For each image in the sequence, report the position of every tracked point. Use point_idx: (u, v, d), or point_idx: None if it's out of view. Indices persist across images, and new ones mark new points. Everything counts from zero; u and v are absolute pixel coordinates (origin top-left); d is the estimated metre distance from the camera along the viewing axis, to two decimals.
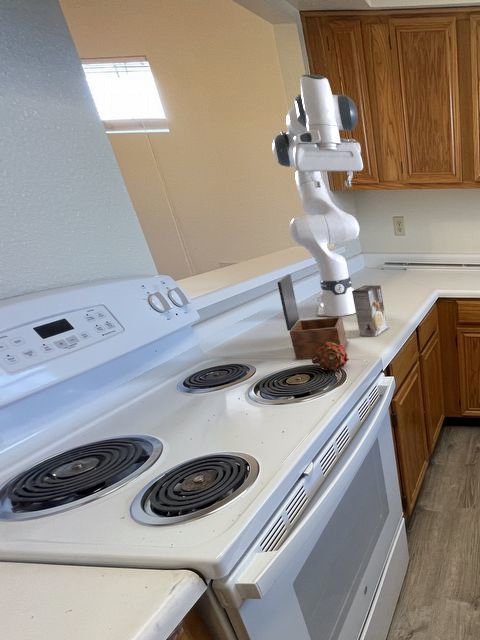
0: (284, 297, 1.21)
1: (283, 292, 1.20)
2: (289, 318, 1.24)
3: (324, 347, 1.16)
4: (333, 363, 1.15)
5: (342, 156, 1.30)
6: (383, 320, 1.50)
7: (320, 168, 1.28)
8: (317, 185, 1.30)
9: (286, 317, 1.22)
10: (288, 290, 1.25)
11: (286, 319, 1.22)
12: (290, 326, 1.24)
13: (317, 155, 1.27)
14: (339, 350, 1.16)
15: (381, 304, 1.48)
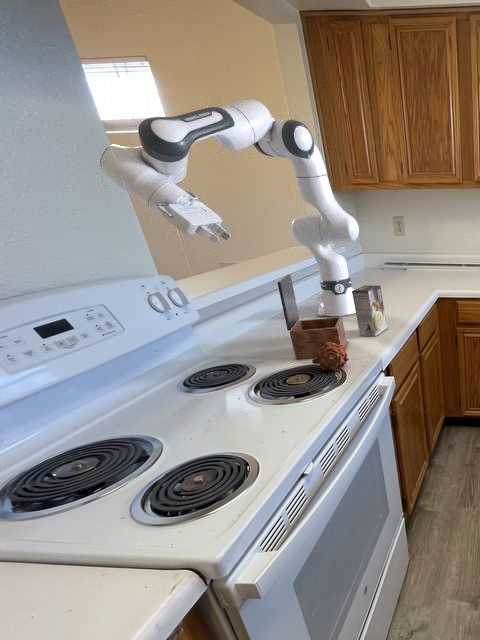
0: (284, 297, 1.21)
1: (283, 292, 1.20)
2: (289, 318, 1.24)
3: (324, 347, 1.16)
4: (333, 363, 1.15)
5: None
6: (383, 320, 1.50)
7: None
8: None
9: (286, 317, 1.22)
10: (288, 290, 1.25)
11: (286, 319, 1.22)
12: (290, 326, 1.24)
13: None
14: (339, 350, 1.16)
15: (381, 304, 1.48)
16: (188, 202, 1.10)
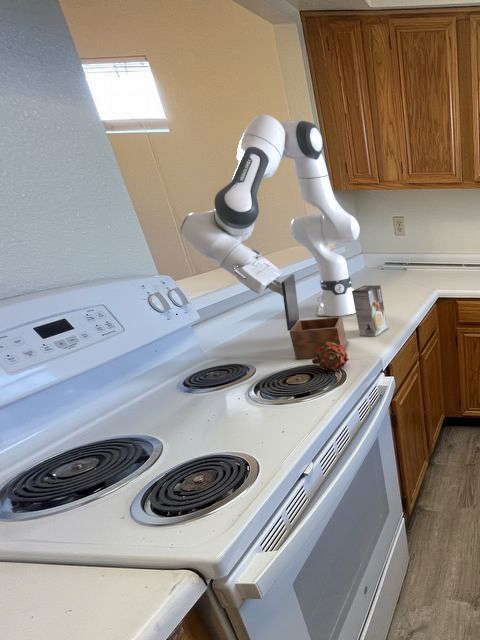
0: (287, 297, 1.21)
1: (286, 292, 1.20)
2: (290, 318, 1.24)
3: (324, 347, 1.16)
4: (333, 363, 1.15)
5: None
6: (383, 320, 1.50)
7: None
8: None
9: (287, 317, 1.22)
10: (291, 290, 1.26)
11: (287, 319, 1.22)
12: (290, 326, 1.24)
13: None
14: (339, 350, 1.16)
15: (381, 304, 1.48)
16: (256, 261, 1.20)
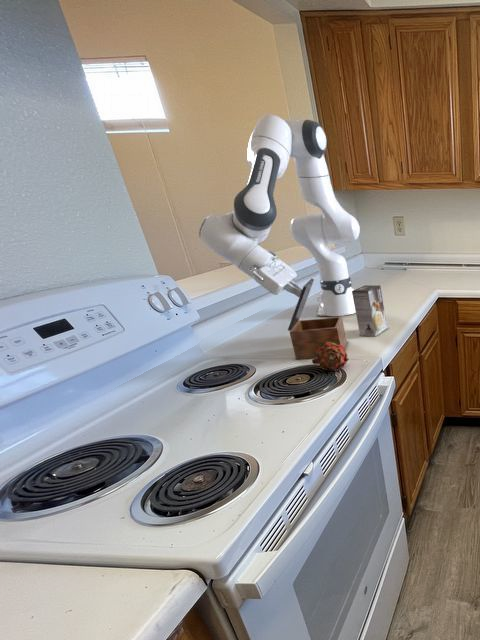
0: (301, 301, 1.22)
1: (303, 296, 1.22)
2: (295, 319, 1.25)
3: (324, 347, 1.16)
4: (333, 363, 1.15)
5: None
6: (383, 320, 1.50)
7: None
8: None
9: (293, 318, 1.23)
10: (306, 294, 1.27)
11: (292, 320, 1.23)
12: (292, 327, 1.24)
13: None
14: (339, 350, 1.16)
15: (381, 304, 1.48)
16: (273, 263, 1.21)
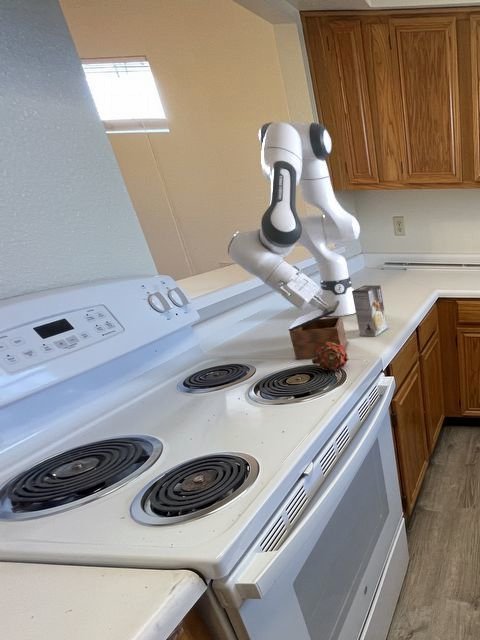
0: (320, 317, 1.25)
1: (325, 315, 1.25)
2: None
3: (324, 347, 1.16)
4: (333, 363, 1.15)
5: None
6: (383, 320, 1.50)
7: None
8: None
9: (301, 325, 1.24)
10: None
11: (299, 325, 1.24)
12: (293, 329, 1.25)
13: None
14: (339, 350, 1.16)
15: (381, 304, 1.48)
16: (298, 278, 1.24)
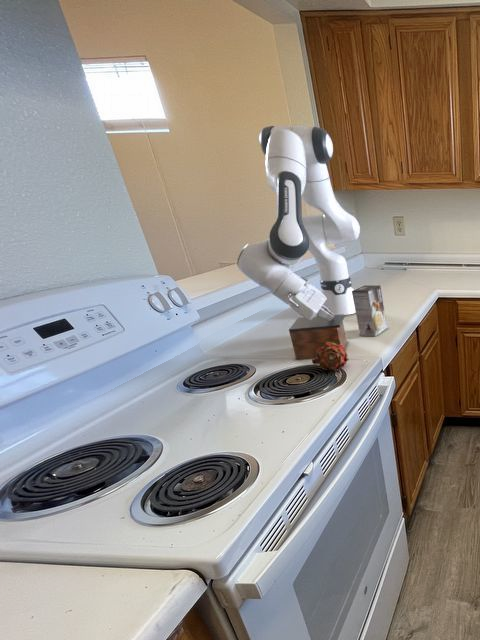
0: None
1: None
2: None
3: (324, 347, 1.16)
4: (333, 363, 1.15)
5: None
6: (383, 320, 1.50)
7: None
8: None
9: (303, 329, 1.25)
10: None
11: (301, 329, 1.24)
12: None
13: None
14: (339, 350, 1.16)
15: (381, 304, 1.48)
16: (306, 289, 1.25)
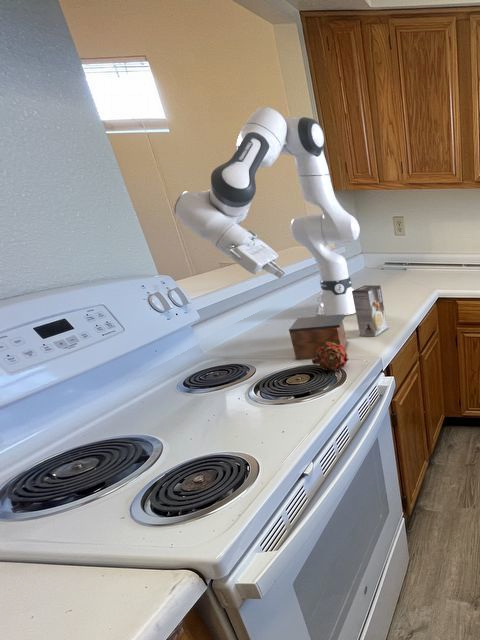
0: None
1: None
2: None
3: (324, 347, 1.16)
4: (333, 363, 1.15)
5: None
6: (383, 320, 1.50)
7: None
8: None
9: (303, 329, 1.25)
10: None
11: (301, 329, 1.24)
12: None
13: None
14: (339, 350, 1.16)
15: (381, 304, 1.48)
16: (252, 242, 1.17)
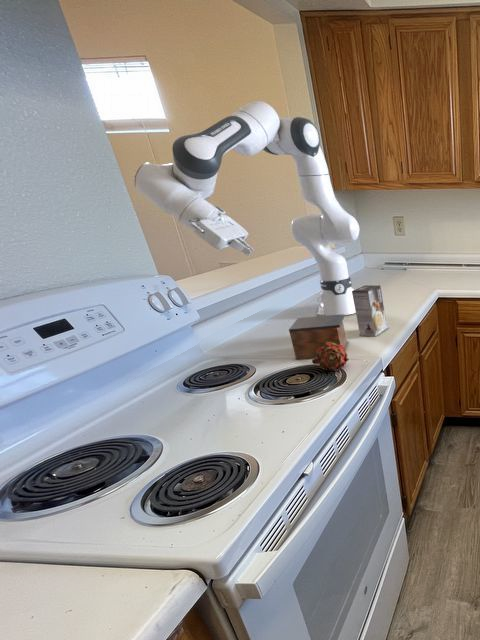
0: None
1: None
2: None
3: (324, 347, 1.16)
4: (333, 363, 1.15)
5: None
6: (383, 320, 1.50)
7: None
8: None
9: (303, 329, 1.25)
10: None
11: (301, 329, 1.24)
12: None
13: None
14: (339, 350, 1.16)
15: (381, 304, 1.48)
16: (217, 217, 1.13)
